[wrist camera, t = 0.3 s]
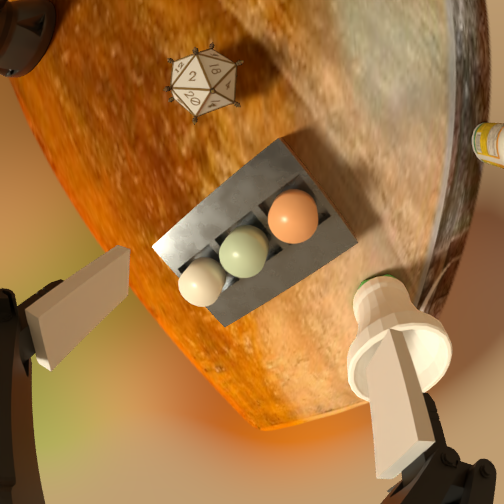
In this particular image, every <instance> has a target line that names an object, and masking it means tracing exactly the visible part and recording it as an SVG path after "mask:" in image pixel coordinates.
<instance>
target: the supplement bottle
mask: <svg viewBox="0 0 504 504" xmlns="http://www.w3.org/2000/svg"><path fill="white" fill-rule="evenodd" d="M472 147H473V150H474V152H475V154H476V156H477V157H478V158H479V159H480V160H481V161H482V162H484V163H488V164H491V165H494V166H497V167H500V168H503V169H504V124H501V123H481V124H479V125H478V126H477V127H476V128H475V129H474V131H473V135H472Z"/></svg>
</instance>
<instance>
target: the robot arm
mask: <svg viewBox="0 0 504 504" xmlns="http://www.w3.org/2000/svg"><path fill="white" fill-rule="evenodd" d="M55 21H56V12H55V8H54V5H53V4H52V3H51V2H50V1H48V0H18V1H12V2H9V1H8V0H0V74H1V75H3V76H6V77H21V76H24V75H25V74H27V73H28V72H30V71H31V70H32V69H33V68H34V67H35V66H36V65H37V63H38V62H39V61H40V59H41V58H42V56H43V54H44V53H45V51H46V49H47V47H48V45H49V43H50V40H51V38H52V35H53V31H54V27H55ZM129 262H130V249H128V248H125V247H122V246H119V245H117V246H116V247H114V248H112V249H111V250H109V251H108V252H106V253H105V254H103V255H102V256H100V257H99V258H97V259H96V260H94V261H93V262H91V263H90V264H88V265H87V266H85V267H84V268H82V269H81V270H79V271H78V272H76V273H75V274H73V275H72V276H71V277H69V278H68V279H66V280H65V281H63V280H61V279H60V280H58V281H54V282H51V283H50V284H48V285H47V286H45V287H44V288H43V289H41V290H39V291H38V292H37V294H34V295H32V296H31V297H30V298H28V299H27V300H25V301H24V302H23V303H22V304H20V305H19V306H17V304H16V299H15V294H14V293H13V291H11V290H9V289H3V288H2V289H0V504H45V501H44V496H43V491H42V486H41V481H40V475H39V469H38V463H37V456H36V449H35V439H34V428H33V414H32V362H31V358H30V357H31V356H33V355H34V354H35V353H36V357H37V360H38V363H39V364H41V365H42V366H44V367H45V368H47V369H48V370H50V371H52V370H53V369H54V368H55V367H56V366H57V365H58V364H59V363H60V362H61V361H62V360H63V359H64V358H65V357H66V355H68V354H69V353H70V352H71V350H72V349H74V347H75V346H76V345H77V344H78V343H79V342H80V341H81V340H82V339H83V338H84V337H85V336H86V335H87V334H88V333H89V332H91V331H92V330H93V329H94V328H95V326H97V325H98V324H99V323H100V322H101V321H102V319H104V318H105V317H106V316H107V315H108V314H109V313H110V312H111V311H112V310H113V309H114V308H115V307H116V306H117V305H118V304H119V303H120V302H121V301H123V300H124V299H125V298H126V297H127V296H128V282H129ZM365 370H366V377H367V384H368V392H369V400H370V408H371V417H372V427H373V437H374V450H375V464H376V478H381V479H393V478H395V477H396V476H397V475H398V474H400V472H402V480H401V481H400V482H399V483H397V484H396V485H394V486H393V487H392V488H390V489H389V490H388V492H390V491H391V492H390V493H389V494H388V496H387V497H386V498H385V499H384V500H383V502H382V503H381V504H493V499H494V491H495V484H496V469H495V467H494V465H493V464H492V463H491V462H490V461H489V460H487V459H480V460H478V461H477V462H476V463H475V464H474V465H471V464H467V463H464V462H461V461H460V457H459V455H458V453H457V452H456V451H455V450H454V449H452V448H450V447H447V445H446V441H445V437H444V434H443V430H442V426H441V423H440V421H439V416H438V413H437V409H436V406H435V402H434V401H433V399H432V398H431V396H430V395H429V394H428V393H423V392H422V390H421V387H420V383H419V380H418V377H417V374H416V370H415V367H414V364H413V361H412V358H411V355H410V352H409V349H408V346H407V344H406V341H405V338H404V335H403V332H402V331H398V330H394V329H390V328H389V329H388V331H387V333H386V335H385V337H384V338H383V340H382V342H381V344H380V345H379V347H378V349H377V351H376V352H375V354H374V356H373V357H372V359H371V361H370V362H369V364H368V366H367V367H366V369H365Z"/></svg>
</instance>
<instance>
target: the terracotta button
mask: <svg viewBox="0 0 504 504" xmlns="http://www.w3.org/2000/svg"><path fill="white" fill-rule="evenodd" d="M268 224H269V227H270V230H271V231H272V233H273V234H274V235H275V236H276V237H277V238H278V239H279V240H281V241H283V242H286V243H291V244H296V243H301V242H304V241H306V240H307V239H309V238H310V237H311V236H312V235H313V234H314V232H315V231H316V228H317V225H318V213H317V206H316V203H315V201H314V199H313V198H312V197H311V196H310V195H309V194H308V193H306V192H305V191H302V190H299V189H289V190H286V191H283V192H282V193H280V194H279V195H278V196H277V197H276V198H275V200H274V202H273V204H272V206H271V208H270V210H269V214H268Z"/></svg>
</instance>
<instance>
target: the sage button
mask: <svg viewBox="0 0 504 504" xmlns="http://www.w3.org/2000/svg"><path fill="white" fill-rule="evenodd" d="M268 251H269V242H268V239H267V237H266V235H265V234H264V232H263V231H261V230H260V229H259V228H257V227H255V226H252V225H241V226H238V227H236V228H235V229H233V230H232V231H231V232H230V234H229V235H228V236H227V238H226V239H225V240H224V242H223V243H222V245H221V247H220V250H219V259H220V262H221V264H222V266H223V267H224V269H225V270H226V271H227V272H228V273H230V274H231V275H233V276H236V277H240V278H249V277H252V276H255V275H256V274H258V273H259V272H260V271H261V270H262V268H263V266H264V264H265V261H266V258H267V255H268Z"/></svg>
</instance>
